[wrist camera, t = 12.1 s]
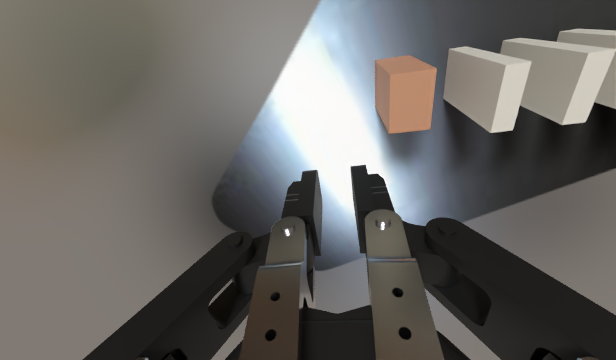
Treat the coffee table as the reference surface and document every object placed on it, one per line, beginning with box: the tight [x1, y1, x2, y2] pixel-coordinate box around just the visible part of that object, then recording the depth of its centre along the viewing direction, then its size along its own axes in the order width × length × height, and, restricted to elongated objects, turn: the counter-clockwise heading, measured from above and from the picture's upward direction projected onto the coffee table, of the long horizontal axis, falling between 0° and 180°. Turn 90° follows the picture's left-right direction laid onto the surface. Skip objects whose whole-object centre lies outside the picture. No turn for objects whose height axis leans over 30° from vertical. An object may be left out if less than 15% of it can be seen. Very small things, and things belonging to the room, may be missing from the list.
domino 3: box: [500, 38, 616, 125], centre depth 22 cm, size 2×5×10 cm, turn 9°
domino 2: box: [443, 46, 532, 133], centre depth 23 cm, size 2×5×10 cm, turn 9°
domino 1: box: [375, 55, 437, 134], centre depth 25 cm, size 4×5×8 cm
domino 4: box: [557, 29, 616, 109], centre depth 22 cm, size 2×5×10 cm, turn 9°
